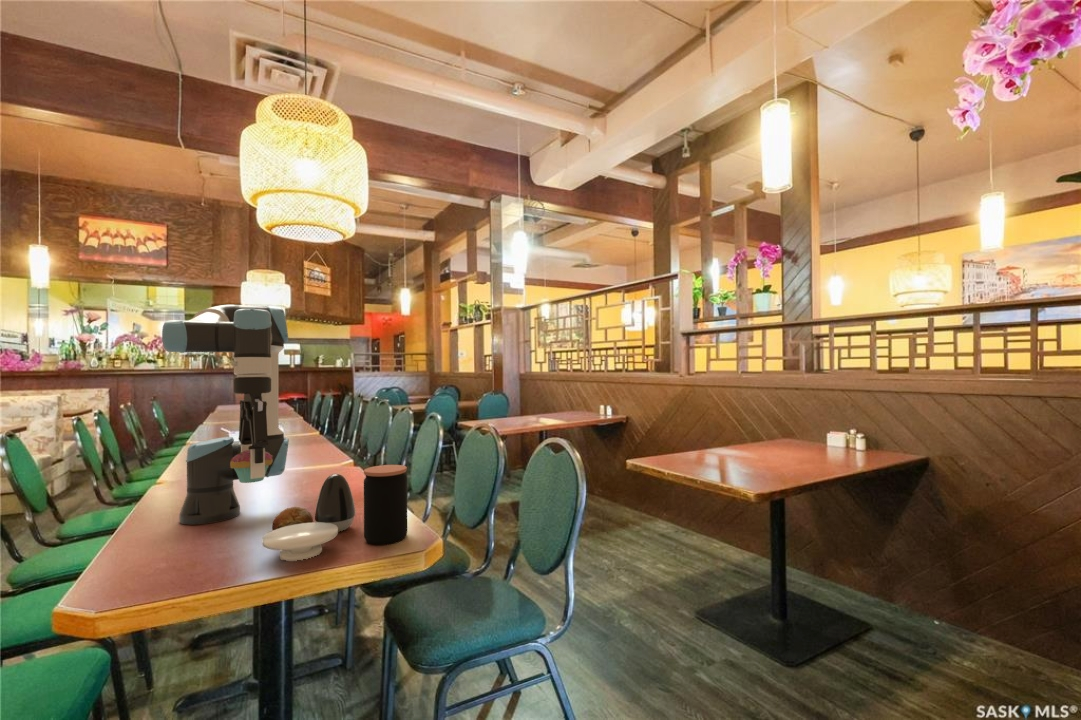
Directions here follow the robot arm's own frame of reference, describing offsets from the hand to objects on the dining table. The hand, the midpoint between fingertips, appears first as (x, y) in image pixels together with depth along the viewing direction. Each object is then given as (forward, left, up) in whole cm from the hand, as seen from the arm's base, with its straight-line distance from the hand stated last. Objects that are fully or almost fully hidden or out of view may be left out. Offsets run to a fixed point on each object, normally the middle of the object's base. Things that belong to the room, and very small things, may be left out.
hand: (252, 474), depth 113 cm
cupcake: (0, 0, -2) cm, 2 cm away
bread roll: (-17, +14, -20) cm, 30 cm away
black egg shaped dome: (-8, +22, -20) cm, 31 cm away
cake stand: (+4, +9, -20) cm, 22 cm away
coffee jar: (+9, +28, -20) cm, 36 cm away
